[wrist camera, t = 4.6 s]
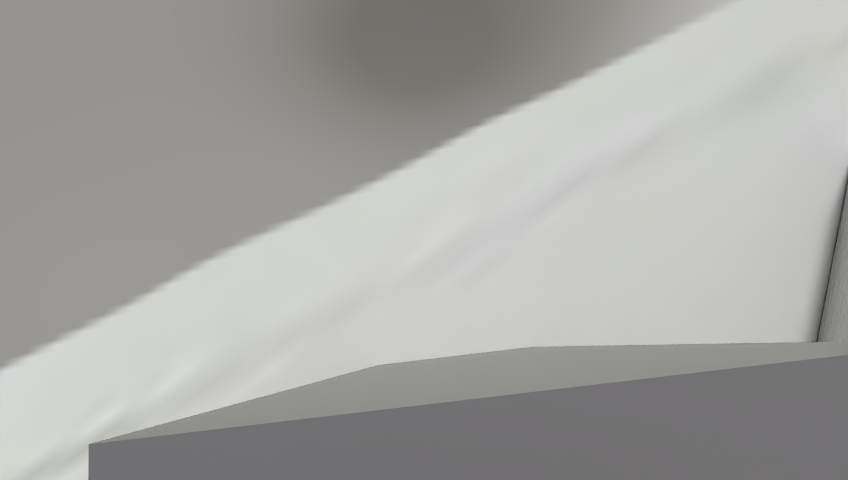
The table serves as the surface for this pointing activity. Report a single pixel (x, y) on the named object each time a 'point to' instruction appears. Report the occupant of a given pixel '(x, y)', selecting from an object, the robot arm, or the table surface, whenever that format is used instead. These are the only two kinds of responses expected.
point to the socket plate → (837, 288)
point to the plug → (525, 420)
